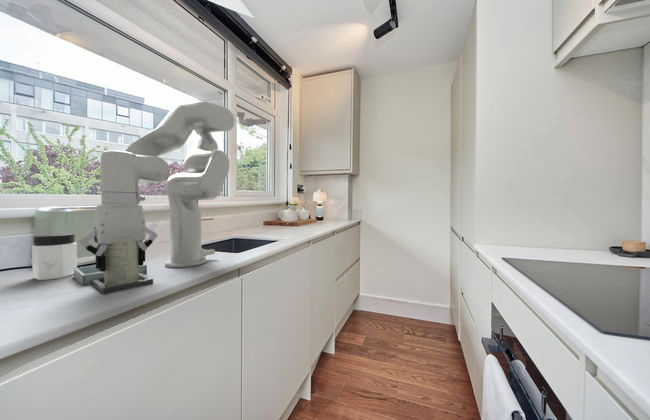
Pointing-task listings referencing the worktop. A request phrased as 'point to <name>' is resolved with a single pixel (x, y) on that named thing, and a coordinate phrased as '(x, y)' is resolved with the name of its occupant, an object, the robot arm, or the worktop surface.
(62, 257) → the jar
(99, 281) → the dark grey rectangular frame
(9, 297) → the worktop surface
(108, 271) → the skincare box
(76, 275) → the tray
